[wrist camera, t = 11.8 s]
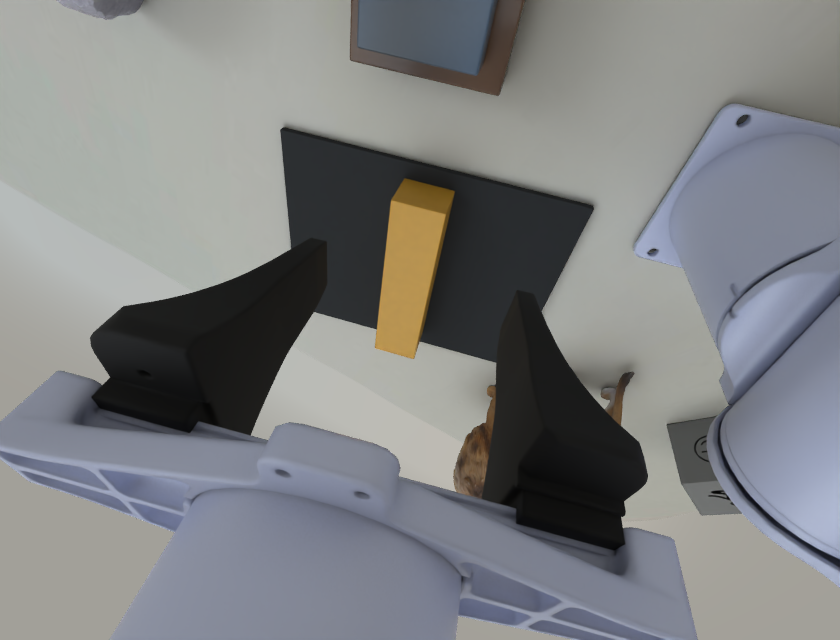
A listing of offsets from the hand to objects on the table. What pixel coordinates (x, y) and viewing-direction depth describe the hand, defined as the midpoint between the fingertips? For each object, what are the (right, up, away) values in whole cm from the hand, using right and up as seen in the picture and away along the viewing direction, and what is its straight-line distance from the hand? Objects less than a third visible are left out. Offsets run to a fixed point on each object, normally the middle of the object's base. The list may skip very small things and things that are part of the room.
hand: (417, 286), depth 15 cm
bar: (0, +2, +12) cm, 12 cm away
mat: (0, +3, +12) cm, 13 cm away
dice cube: (+24, -10, +17) cm, 31 cm away
